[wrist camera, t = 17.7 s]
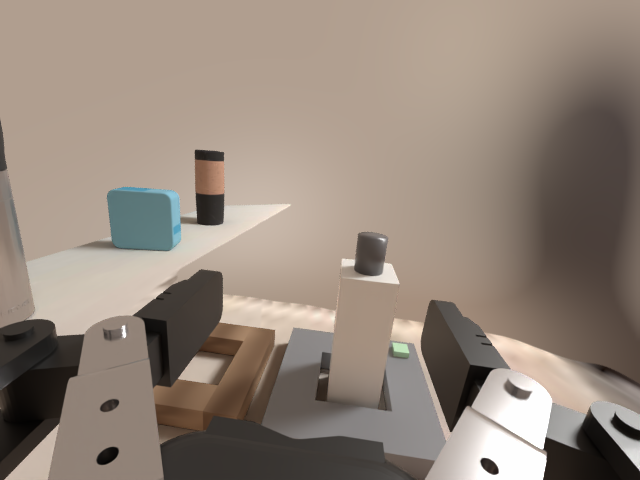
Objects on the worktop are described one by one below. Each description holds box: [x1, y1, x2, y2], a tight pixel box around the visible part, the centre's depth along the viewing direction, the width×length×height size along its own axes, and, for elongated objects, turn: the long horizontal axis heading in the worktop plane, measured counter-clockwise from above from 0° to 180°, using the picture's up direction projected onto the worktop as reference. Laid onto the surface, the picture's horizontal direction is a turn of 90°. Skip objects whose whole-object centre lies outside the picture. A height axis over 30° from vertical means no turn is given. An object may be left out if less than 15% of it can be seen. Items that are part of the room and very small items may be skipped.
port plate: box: [261, 328, 446, 480], centre depth 28 cm, size 14×14×3 cm
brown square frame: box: [153, 323, 275, 431], centre depth 30 cm, size 12×12×2 cm
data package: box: [107, 187, 181, 251], centre depth 62 cm, size 12×4×12 cm, turn 95°
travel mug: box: [195, 150, 224, 225], centre depth 85 cm, size 8×8×20 cm
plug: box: [326, 232, 400, 409], centre depth 27 cm, size 4×4×16 cm
